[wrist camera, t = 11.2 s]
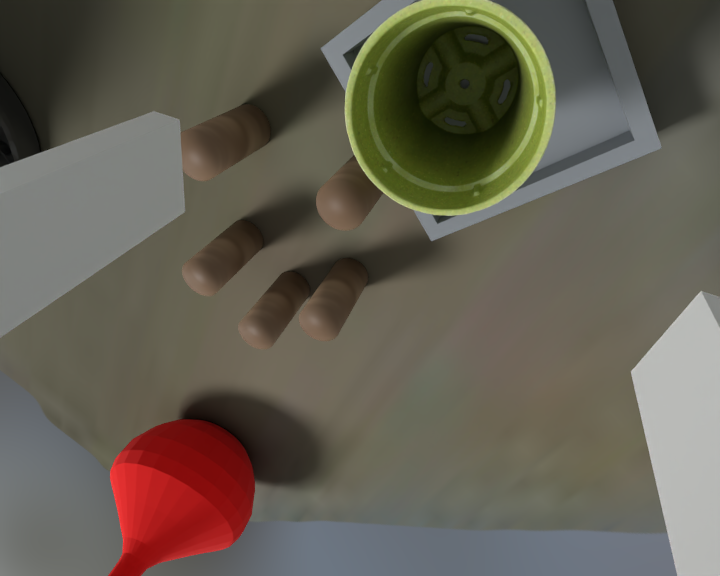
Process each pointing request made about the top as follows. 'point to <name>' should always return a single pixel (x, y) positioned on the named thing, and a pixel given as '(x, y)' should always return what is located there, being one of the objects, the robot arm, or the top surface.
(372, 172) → the plant pot
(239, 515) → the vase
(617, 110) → the tray
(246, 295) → the top surface
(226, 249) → the posts
